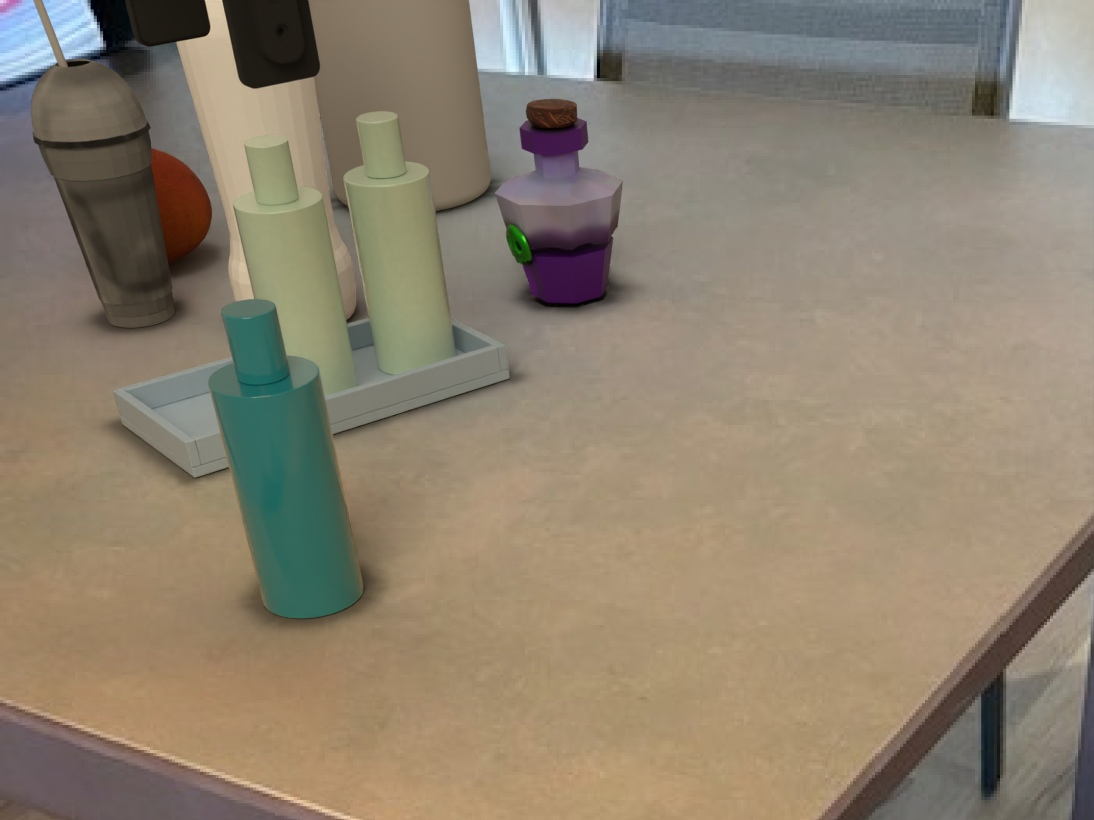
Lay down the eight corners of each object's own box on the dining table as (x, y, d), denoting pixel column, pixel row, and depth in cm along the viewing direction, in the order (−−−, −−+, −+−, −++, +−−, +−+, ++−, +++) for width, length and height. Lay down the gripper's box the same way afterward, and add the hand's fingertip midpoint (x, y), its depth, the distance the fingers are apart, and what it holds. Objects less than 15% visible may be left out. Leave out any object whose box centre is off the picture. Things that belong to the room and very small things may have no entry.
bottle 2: (299, 414, 98) (244, 159, 88) (261, 390, 100) (204, 141, 91) (373, 392, 100) (327, 140, 90) (334, 369, 103) (285, 123, 93)
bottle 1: (385, 305, 113) (290, -239, 93) (310, 346, 107) (192, -222, 87) (292, 289, 116) (181, -242, 96) (215, 328, 110) (80, -226, 90)
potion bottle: (482, 303, 113) (455, 109, 104) (557, 264, 118) (537, 78, 110) (583, 324, 109) (564, 125, 101) (656, 283, 114) (643, 92, 106)
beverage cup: (195, 328, 111) (110, -16, 97) (84, 340, 109) (-19, -5, 96) (196, 292, 116) (114, -38, 102) (89, 303, 115) (-7, -29, 101)
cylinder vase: (479, 163, 137) (432, -205, 121) (504, 206, 128) (456, -185, 112) (329, 180, 135) (259, -193, 118) (343, 225, 126) (270, -172, 109)
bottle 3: (402, 383, 101) (359, 133, 91) (362, 360, 104) (317, 116, 94) (472, 362, 103) (437, 116, 94) (430, 340, 106) (393, 100, 97)
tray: (194, 478, 93) (185, 442, 91) (121, 424, 99) (111, 389, 97) (510, 378, 102) (506, 344, 101) (426, 335, 108) (421, 302, 107)
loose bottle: (291, 629, 80) (221, 337, 70) (245, 592, 82) (171, 307, 73) (382, 595, 82) (325, 308, 72) (334, 561, 85) (273, 280, 75)
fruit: (191, 283, 117) (161, 161, 112) (78, 278, 119) (43, 158, 113) (243, 243, 124) (217, 126, 118) (136, 239, 125) (105, 123, 120)
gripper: (-97, -507, 58) (54, 42, 69) (95, -528, 48) (235, 119, 59) (105, -511, 61) (218, 12, 73) (325, -532, 51) (415, 81, 63)
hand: (225, 59), depth 66 cm, fingers open, 9 cm apart
